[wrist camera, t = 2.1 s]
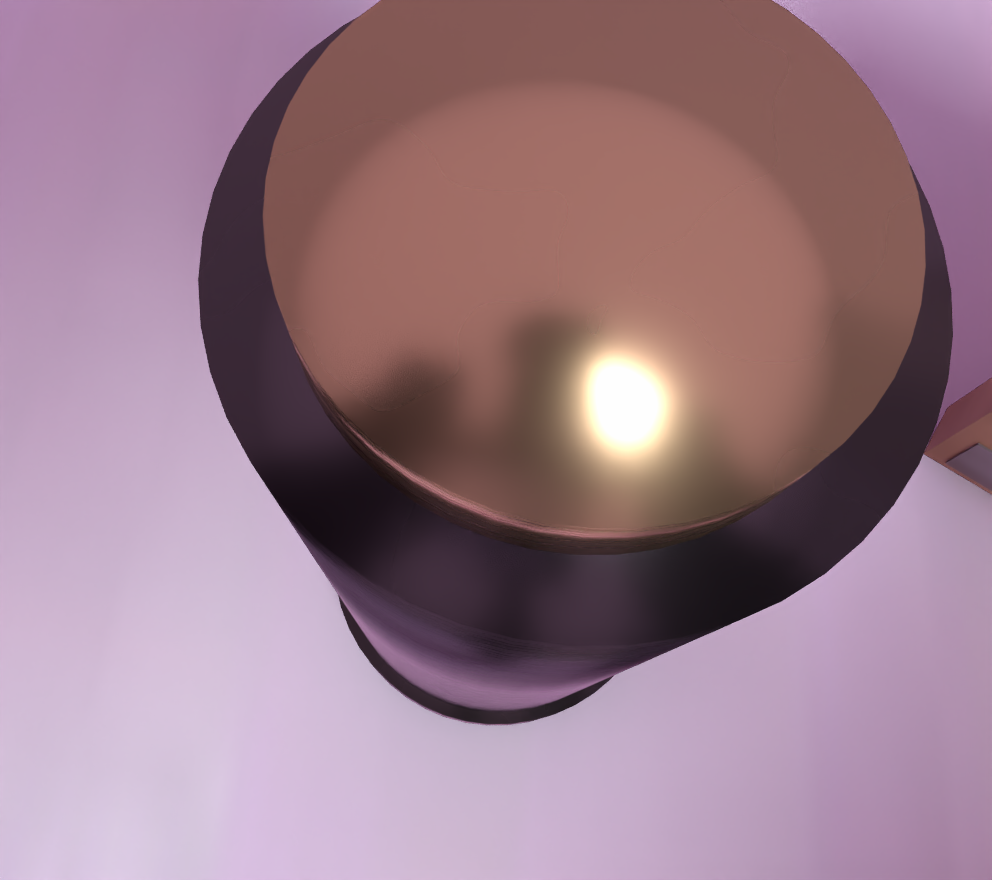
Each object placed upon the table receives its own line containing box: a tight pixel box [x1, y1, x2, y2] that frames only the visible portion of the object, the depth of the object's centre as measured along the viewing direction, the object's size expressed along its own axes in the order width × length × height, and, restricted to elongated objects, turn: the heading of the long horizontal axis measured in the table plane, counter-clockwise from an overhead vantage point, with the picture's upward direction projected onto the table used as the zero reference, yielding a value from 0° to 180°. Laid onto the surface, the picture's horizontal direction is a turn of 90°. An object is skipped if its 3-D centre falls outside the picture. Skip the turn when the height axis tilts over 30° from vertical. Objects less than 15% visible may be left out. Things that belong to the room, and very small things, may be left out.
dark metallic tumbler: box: [198, 0, 953, 725], centre depth 12 cm, size 6×6×13 cm
